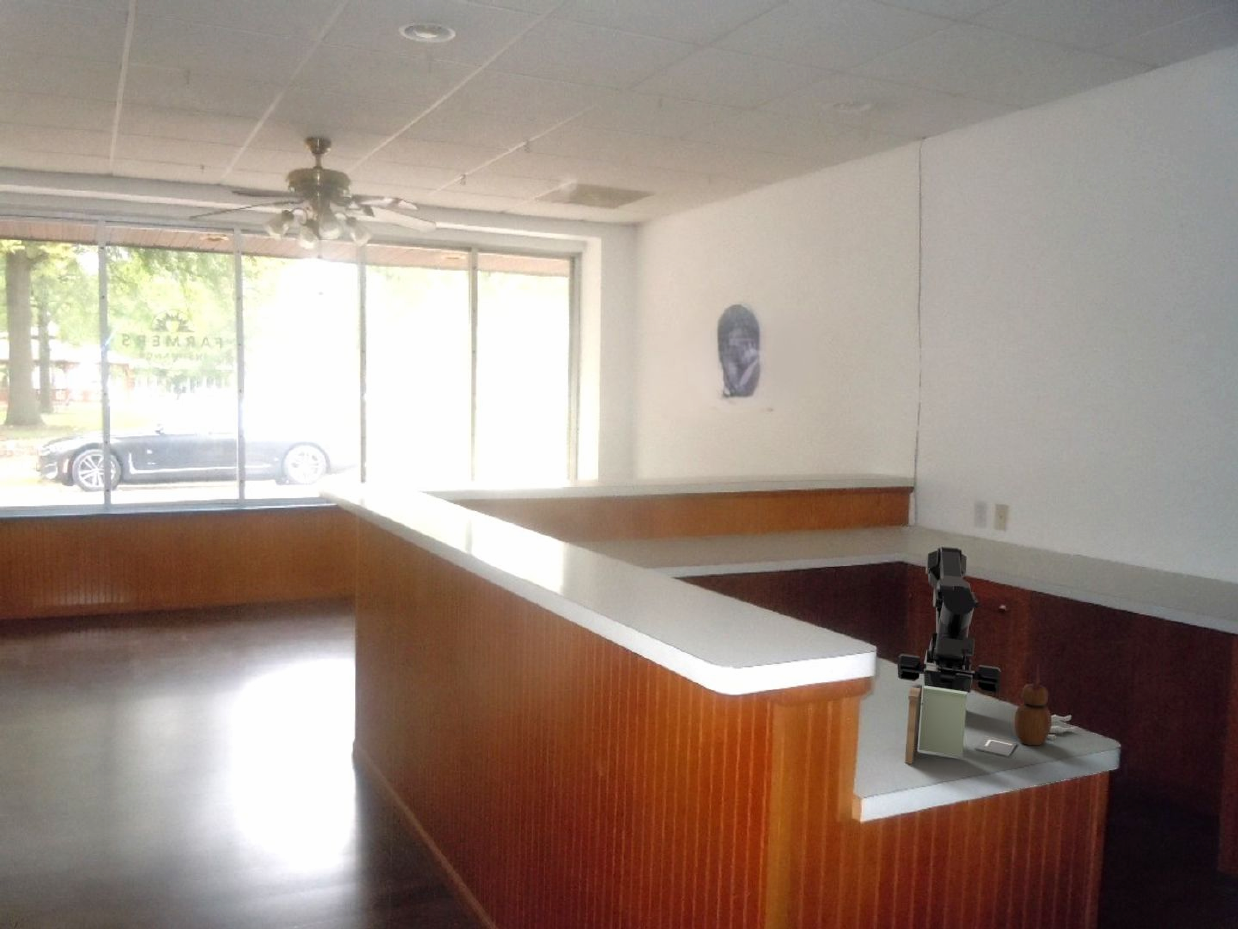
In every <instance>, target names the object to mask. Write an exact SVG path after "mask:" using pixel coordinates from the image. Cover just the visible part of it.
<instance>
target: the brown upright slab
mask: <svg viewBox="0 0 1238 929" xmlns="http://www.w3.org/2000/svg"><path fill="white" fill-rule="evenodd" d="M922 697H923V685H922V684H921V683H915V682H913V683H911V684H910V691H909V693H908V700H909V702H908V703H909V704H908V716H907V717H908V718H907V731H906V744H905V758H904V759H905V760H904V763H905V764H911V765H912V764H913V762H914V758H915V754H917V753H918V750H919V738H920V724H921V711H922V707H921V706H922Z"/></svg>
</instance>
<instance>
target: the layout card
mask: <svg viewBox="0 0 1238 929" xmlns="http://www.w3.org/2000/svg"><path fill="white" fill-rule="evenodd" d="M1016 744H1018V742H1016V741H1011V740H1005V739H1002V738H997V737H993V736H988V735H983V737H982V738H981V739H980V741H979V742H978V744H977V745H976V747H974V750H975V749H976V751H979V752H983V751H984V752H983V753H988V754H993V755H997V754H999V755H998V756H1001V755H1003V756H1002V757H1005V756H1006V757H1007V758H1010V756H1011V755H1012V753H1013V751H1014V750H1015V748H1016V746H1017V745H1016ZM1013 749H1014V750H1013ZM1010 754H1011V755H1010ZM1006 757H1005V758H1006Z"/></svg>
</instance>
